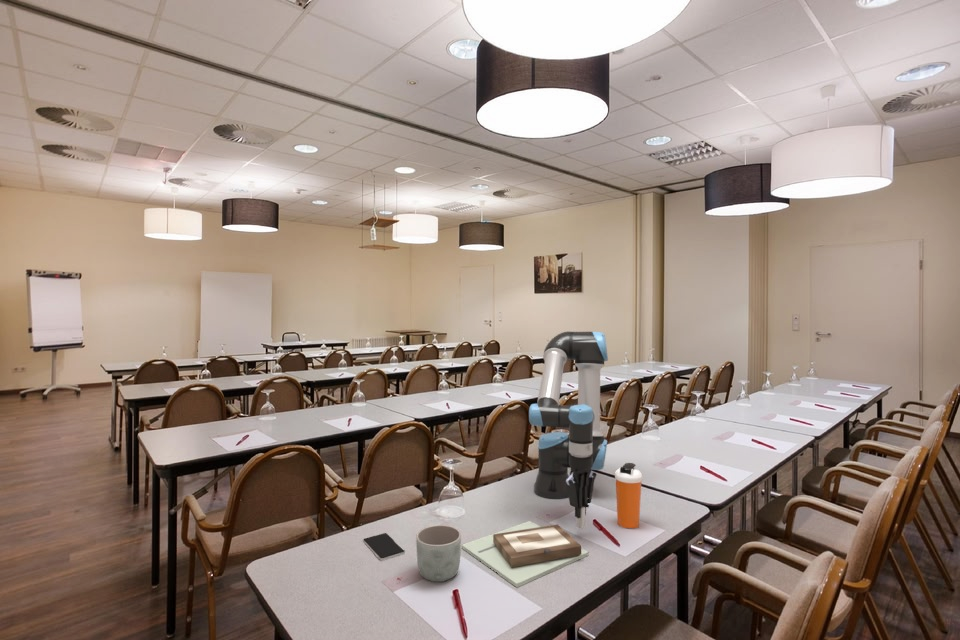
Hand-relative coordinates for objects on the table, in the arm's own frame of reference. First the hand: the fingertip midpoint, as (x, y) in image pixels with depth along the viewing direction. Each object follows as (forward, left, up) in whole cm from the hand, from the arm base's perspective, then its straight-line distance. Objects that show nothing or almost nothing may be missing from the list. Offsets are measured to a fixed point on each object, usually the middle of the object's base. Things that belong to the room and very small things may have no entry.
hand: (580, 526), depth 156 cm
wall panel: (-3, -22, -3) cm, 22 cm away
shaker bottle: (+4, +19, -3) cm, 20 cm away
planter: (-8, -49, -3) cm, 49 cm away
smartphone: (-31, -55, -4) cm, 63 cm away
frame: (0, -19, -1) cm, 19 cm away
